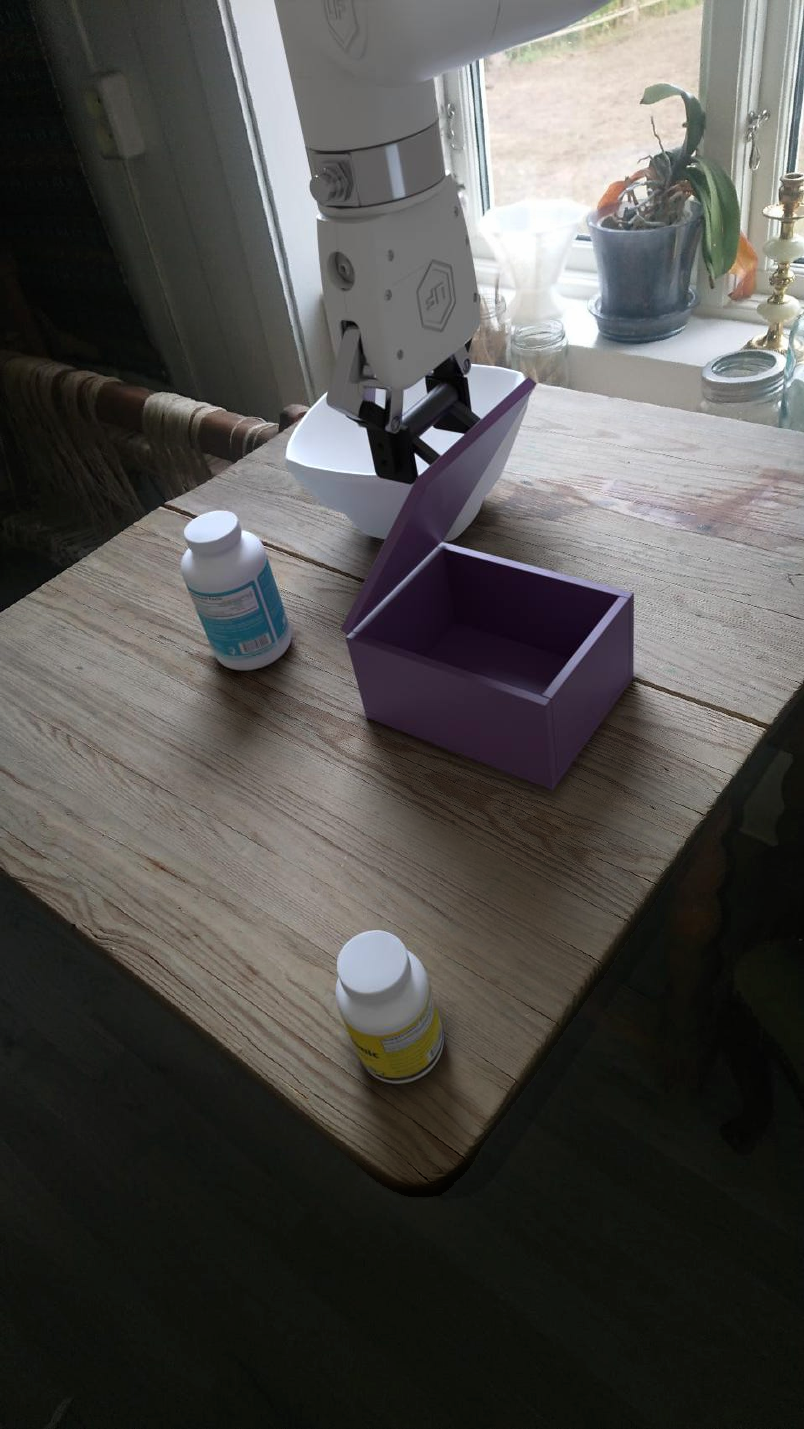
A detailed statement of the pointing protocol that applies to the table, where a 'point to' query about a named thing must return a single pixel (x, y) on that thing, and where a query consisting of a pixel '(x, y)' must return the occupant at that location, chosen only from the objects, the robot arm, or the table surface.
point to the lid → (435, 488)
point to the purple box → (496, 660)
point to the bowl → (343, 467)
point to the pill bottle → (234, 592)
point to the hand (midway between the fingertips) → (425, 451)
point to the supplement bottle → (388, 1007)
